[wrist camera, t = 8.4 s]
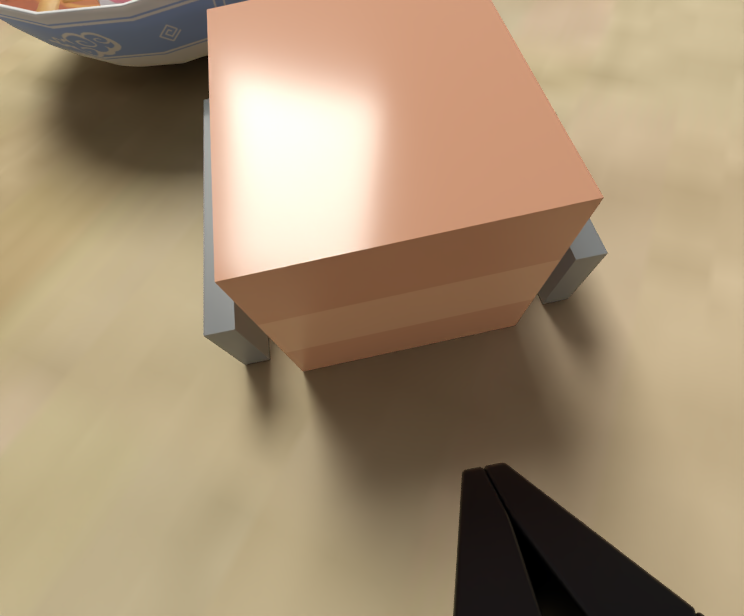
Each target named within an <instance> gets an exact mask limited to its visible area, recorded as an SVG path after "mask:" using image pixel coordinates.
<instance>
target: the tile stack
mask: <svg viewBox="0 0 744 616" xmlns="http://www.w3.org/2000/svg"><path fill="white" fill-rule="evenodd" d="M207 33H208V68H209V103H210V138H211V173H212V208H213V243H214V278H215V283H216V284H217V285H218V286H219V287H220V288H221V289H222V290H223V291H224V292H225V293H226V294H227V295H228V296H229V297H230V298H231V299H232V300H233V301H234V302H235V303H236V304H237V305H238V306H239V307H240V308H241V309H242V310H243V311H244V312H245V313H246V314H247V315H248V316H249V317H250V318H251V319H252V320H253V321H254V322H255V323H256V324H257V325H258V326H259V327H260V328H261V329H262V330H263V331H264V333H265V334H266V335H267V336H268V337H269V338H270V339H271V340H272V341H273V342H274V343H275V344H276V345H277V346H278V347H279V348H280V349H281V350H282V351H283V352H284V353H285V354H286V355H287V356H288V357H289V358H290V359H291V360H292V361H293V362H294V363H295V364H296V365H297V366H298V367H299V368H300V369H301V370H302V371H308V370H313V369H317V368H322V367H327V366H331V365H336V364H340V363H345V362H350V361H354V360H359V359H363V358H368V357H373V356H377V355H382V354H386V353H391V352H396V351H400V350H405V349H410V348H414V347H419V346H423V345H428V344H433V343H437V342H442V341H446V340H451V339H456V338H460V337H465V336H469V335H474V334H479V333H483V332H488V331H493V330H497V329H502V328H506V327H511V326H515V325H516V324H517V323H518V321H519V320H520V318H521V317H522V315H523V314H524V312H525V311H526V309H527V308H528V307H529V305H530V304H531V302H532V301H533V299H534V298H535V296H536V295H537V293H538V292H539V291H540V289H541V288H542V286H543V285H544V283H545V282H546V280H547V279H548V278H549V276H550V275H551V273H552V272H553V270H554V269H555V267H556V266H557V264H558V263H559V262H560V260H561V259H562V257H563V256H564V254H565V253H566V251H567V250H568V249H569V247H570V246H571V244H572V243H573V241H574V240H575V238H576V237H577V235H578V234H579V233H580V231H581V230H582V228H583V227H584V225H585V224H586V222H587V221H588V220H589V218H590V217H591V215H592V214H593V212H594V211H595V209H596V208H597V206H598V205H599V204H600V202H601V201H602V199H603V198H604V197H603V195H602V194H601V192H600V190H599V188H598V187H597V185H596V183H595V181H594V180H593V178H592V176H591V174H590V173H589V171H588V169H587V167H586V166H585V164H584V162H583V160H582V159H581V157H580V155H579V153H578V152H577V150H576V148H575V146H574V145H573V143H572V141H571V139H570V138H569V136H568V134H567V132H566V131H565V129H564V127H563V125H562V124H561V122H560V120H559V118H558V117H557V115H556V113H555V111H554V110H553V108H552V106H551V104H550V103H549V101H548V99H547V97H546V96H545V94H544V92H543V90H542V89H541V87H540V85H539V83H538V82H537V80H536V78H535V76H534V75H533V73H532V71H531V69H530V68H529V66H528V64H527V62H526V61H525V59H524V57H523V55H522V54H521V52H520V50H519V48H518V47H517V45H516V43H515V41H514V40H513V38H512V36H511V34H510V33H509V31H508V29H507V27H506V26H505V24H504V22H503V20H502V19H501V17H500V15H499V13H498V12H497V10H496V8H495V6H494V5H493V3H492V1H491V0H248V1H243V2H239V3H234V4H229V5H225V6H220V7H216V8H211V9H207Z"/></svg>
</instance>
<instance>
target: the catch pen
mask: <svg viewBox="0 0 744 616" xmlns="http://www.w3.org/2000/svg"><path fill="white" fill-rule="evenodd" d="M606 255H607V251H606V249H605V247H604V245H603V243H602V241H601V239H600V237H599V235H598V233H597V232H596V230H595V228H594V226H593V224H592V222H591V220H590V218H589V220H588V221H587V222H586V224H585V225H584V227H583V228H582V230H581V231H580V233H579V234H578V235H577V237H576V238H575V240H574V241H573V243H572V244H571V246H570V247H569V249H568V250H567V251H566V253H565V254H564V256H563V257H562V259H561V260H560V262H559V263H558V264H557V266H556V267H555V269H554V270H553V272H552V273H551V275H550V276H549V278H548V279H547V280H546V282H545V283H544V285H543V286H542V288H541V289H540V291H539V292H538V295H539V297H540V299H541V302H542V304H545V303H550V302H555V301H560V300H565V299H568V298H569V297H570V296H571V294H572V293H573V292H574V291H575V290H576V289H577V288H578V286H579V285H580V284H581V283H582V282H583V281H584V280H585V278H586V277H587V276H588V275H589V274H590V273H591V272H592V271H593V269H594V268H595V267H596V266H597V265H598V264H599V263H600V261H601V260H602V259H603V258H604V257H605V256H606ZM204 336H205V337H206V338H208V339H209V340H210V341H212V342H213V343H215V344H216V345H218V346H219V347H220V348H222V349H223V350H225V351H226V352H228V353H229V354H230V355H232V356H233V357H235V358H236V359H238V360H239V361H240V362H242V363H243V364H245V365H246V364H251V363H256V362H261V361H265V360H270V353H269V340H268V336H267V335H266V334H265V333H264V331H263V330H262V329H261V328H260V327H259V326H258V325H257V324H256V323H255V322H254V321H253V320H252V319H251V318H250V317H249V316H248V315H247V314H246V313H245V312H244V311H243V310H242V309H241V308H240V307H239V306H238V305H237V304H236V303H235V302H234V301H233V300H232V299H231V298H230V297H229V296H228V295H227V294H226V293H225V292H224V291H223V290H222V289H221V288H220V287H219V286H218V285H217V284H216V283H215V278H214V243H213V208H212V173H211V138H210V103H209V99H206V100H204Z"/></svg>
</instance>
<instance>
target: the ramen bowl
mask: <svg viewBox="0 0 744 616" xmlns="http://www.w3.org/2000/svg"><path fill="white" fill-rule="evenodd" d="M243 1H248V0H0V19H2V20H3V21H5V22H7V23H8V24H10V25H12V26H13V27H15V28H17V29H19V30H21V31H23V32H26V33H28V34H30V35H32V36H34V37H36V38H38V39H40V40H42V41H44V42H46V43H48V44H51V45H53V46H56V47H59V48H61V49H64V50H67V51H70V52H72V53H75V54H78V55H81V56H85V57H89V58H93V59H97V60H101V61H105V62H109V63H113V64H117V65H121V66H136V67H144V66H156V65H167V64H179V63H185V62H188V61H192V60H195V59H198V58H201V57H204V56H207V55H208V33H207V9H211V8H216V7H220V6H225V5H229V4H234V3H239V2H243Z"/></svg>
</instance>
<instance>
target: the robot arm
mask: <svg viewBox="0 0 744 616" xmlns="http://www.w3.org/2000/svg"><path fill="white" fill-rule="evenodd" d="M453 616H704V615H703V614H701V613H695V610H694V608H693V607H692V606H691V605H689V604H688V603H687V602H686V601H684V600H683V599H682V598H680V597H679V596H678V595H676V594H675V593H674V592H673V591H671V590H670V589H669V588H667V587H666V586H665V585H663V584H662V583H661V582H659V581H658V580H657V579H656V578H654V577H653V576H652V575H650V574H649V573H648V572H646V571H645V570H644V569H643V568H641V567H640V566H639V565H637V564H636V563H635V562H633V561H632V560H631V559H630V558H628V557H627V556H626V555H624V554H623V553H622V552H620V551H619V550H618V549H617V548H615V547H614V546H613V545H611V544H610V543H609V542H607V541H606V540H605V539H603V538H602V537H601V536H600V535H598V534H597V533H596V532H594V531H593V530H592V529H590V528H589V527H588V526H587V525H585V524H584V523H583V522H581V521H580V520H579V519H577V518H576V517H575V516H574V515H572V514H571V513H570V512H568V511H567V510H566V509H564V508H563V507H562V506H561V505H559V504H558V503H557V502H555V501H554V500H553V499H551V498H550V497H549V496H547V495H546V494H545V493H544V492H542V491H541V490H540V489H538V488H537V487H536V486H534V485H533V484H532V483H531V482H529V481H528V480H527V479H525V478H524V477H523V476H521V475H520V474H519V473H518V472H516V471H515V470H514V469H512V468H511V467H510V466H508V465H507V464H505V463H498V464H493V465H488V466H486V467H485V468H484V469H483V468H481V467H477V468H472V469H467V470H464V471H463V472H462V483H461V499H460V515H459V531H458V547H457V563H456V579H455V595H454V611H453Z"/></svg>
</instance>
